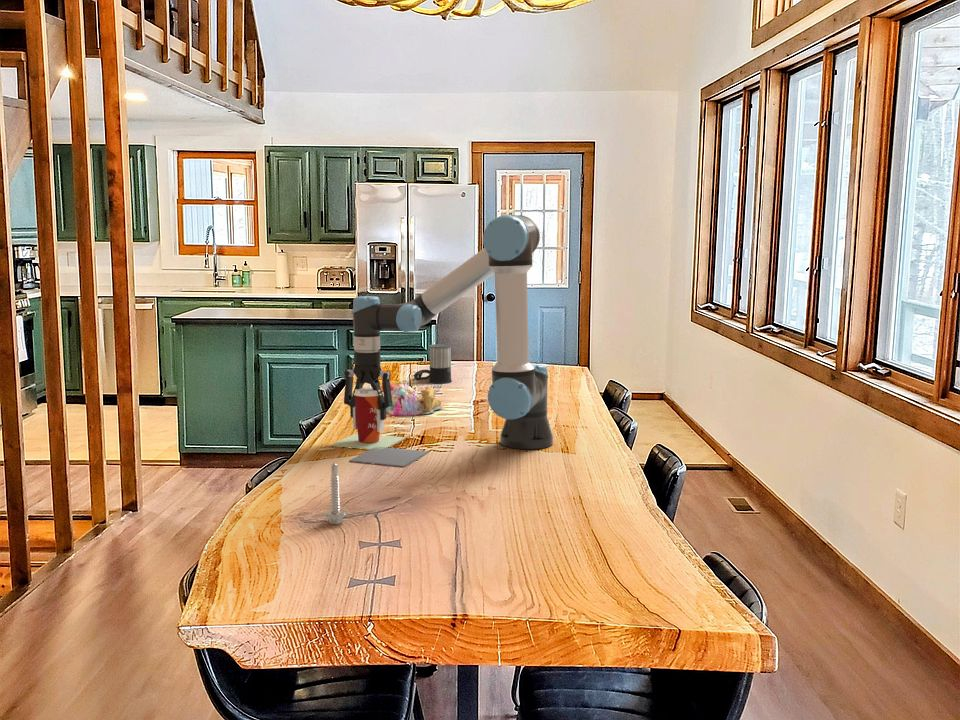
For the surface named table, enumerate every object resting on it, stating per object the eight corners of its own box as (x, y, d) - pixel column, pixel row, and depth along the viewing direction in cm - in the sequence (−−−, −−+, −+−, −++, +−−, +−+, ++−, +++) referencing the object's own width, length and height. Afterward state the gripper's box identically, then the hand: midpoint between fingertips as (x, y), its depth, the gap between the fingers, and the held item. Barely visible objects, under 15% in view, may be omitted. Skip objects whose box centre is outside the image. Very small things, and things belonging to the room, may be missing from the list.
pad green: (405, 438, 264) (405, 437, 264) (381, 451, 250) (381, 449, 249) (356, 434, 270) (356, 433, 270) (330, 446, 255) (330, 445, 255)
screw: (319, 523, 189) (336, 517, 193) (334, 528, 186) (352, 522, 190) (317, 463, 187) (335, 458, 191) (333, 467, 184) (350, 462, 188)
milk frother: (451, 384, 356) (451, 346, 354) (411, 383, 356) (411, 346, 354) (453, 378, 370) (452, 342, 368) (414, 377, 370) (414, 342, 368)
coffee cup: (378, 444, 255) (377, 392, 252) (350, 442, 256) (349, 391, 254) (387, 437, 263) (386, 386, 261) (360, 436, 264) (359, 385, 262)
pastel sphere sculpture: (446, 404, 318) (446, 378, 317) (437, 418, 295) (437, 390, 293) (376, 402, 320) (376, 377, 319) (362, 416, 297) (362, 389, 295)
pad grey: (428, 452, 248) (428, 451, 248) (404, 467, 233) (404, 465, 233) (376, 447, 253) (376, 446, 253) (349, 461, 238) (349, 460, 238)
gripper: (329, 350, 256) (331, 429, 259) (393, 354, 249) (394, 435, 252) (342, 347, 263) (344, 424, 266) (404, 350, 256) (405, 429, 259)
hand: (368, 429), depth 259 cm, fingers closed on coffee cup, 7 cm apart
